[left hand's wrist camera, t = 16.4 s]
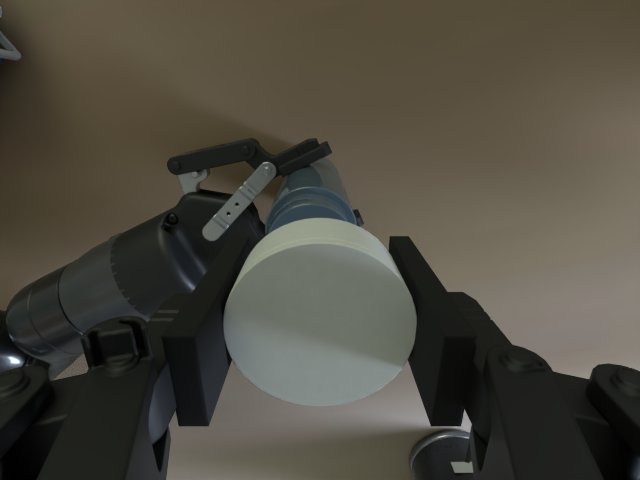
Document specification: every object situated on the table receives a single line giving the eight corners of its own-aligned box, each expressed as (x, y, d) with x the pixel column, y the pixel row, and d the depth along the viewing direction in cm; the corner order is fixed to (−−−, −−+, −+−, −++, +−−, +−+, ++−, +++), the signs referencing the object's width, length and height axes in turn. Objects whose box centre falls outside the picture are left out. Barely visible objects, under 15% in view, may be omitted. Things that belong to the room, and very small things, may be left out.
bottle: (285, 152, 30) (259, 193, 15) (341, 155, 30) (368, 199, 15) (283, 207, 31) (259, 290, 17) (337, 210, 32) (357, 294, 17)
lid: (297, 381, 14) (294, 432, 11) (206, 272, 12) (181, 307, 10) (427, 314, 13) (450, 356, 10) (347, 184, 11) (354, 202, 9)
